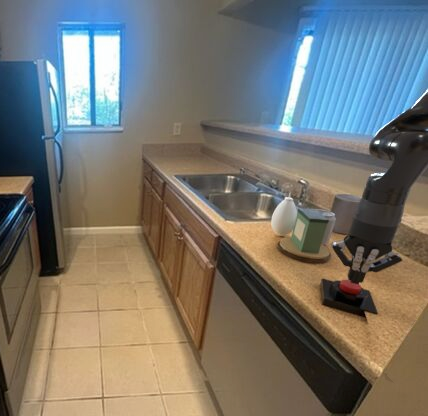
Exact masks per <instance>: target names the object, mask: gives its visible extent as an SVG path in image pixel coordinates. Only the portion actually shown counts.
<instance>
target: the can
mask: <svg viewBox="0 0 428 416" xmlns="http://www.w3.org/2000/svg"><path fill="white" fill-rule="evenodd" d="M316 210H317V211H318V212H319V213H321V214H322V215H323V216H325V217H326V218H327V219H328V220H329V222H328V224H327V227H326V230H325V233H324V237H323V240H322V243H321V244H322V245H324V246H326V245H329V243H330V239H331V236H332V234H333V227H334V224H335V221H336V218H335V217H334V216H335V214H334V213H332V212H330V211H331V210H326V209H316Z"/></svg>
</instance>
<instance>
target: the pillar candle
mask: <svg viewBox="0 0 428 416" xmlns="http://www.w3.org/2000/svg"><path fill="white" fill-rule="evenodd" d="M361 198H362V196H359V195H355V194H351V193H350V194H349V193H348V194H347V193H338V194H335V195H334V198H333V202H332V205H331V208H330V210H329V211H330V212H332V213H334V214H335V216H334V217H335V218H336V221H335V224H334V227H333V231H332V233H336V234H340V235H346V236H347V235H348V233H349V230H350V227H351V224H352V221H353V218H354V215H355V212H356V209H357V206H358V204H359V202H360V200H361Z"/></svg>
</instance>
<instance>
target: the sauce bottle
mask: <svg viewBox="0 0 428 416" xmlns="http://www.w3.org/2000/svg"><path fill="white" fill-rule="evenodd" d="M291 195H292V191H291V190H290V191H289V194H288V197H287V196H286V197H284V200H283V199H282V201H280V202H279V203H278V204H277V206H276V208H275V209H274V211H273V213H272V216H271V219H270V225H271V229H272V231H273V232H274V233H275V235H276V236H278V237H287V235H288V236H289V235H290V234H292V233H293V229H294V225H295V221H296V217H297V213H298V209H297V206H296V203H295V202H294V198H292V197H291Z"/></svg>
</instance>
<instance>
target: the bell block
mask: <svg viewBox="0 0 428 416" xmlns="http://www.w3.org/2000/svg"><path fill="white" fill-rule="evenodd" d="M340 282H341V280H338V279H337V280H329V279H326V278H321V280H320V283H319V288H320V297H321V305H322V306H323V307H327V308H330V309H334V310H337V311H340V312H344V313H348V314H350V315H355V316H357V317H360V318H365V319H367V315H366V312H367V313H369V314H373V315H378V314H379V313H378V311H377V308H376V305H375V302H374V299H373V296H372V294H371V291H370V290H369V289H366V288H363V287H362V286H361V290H360V293H359V294H351V293H347V292H345V291H343V290H341V289H340V288H339V285H340Z"/></svg>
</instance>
